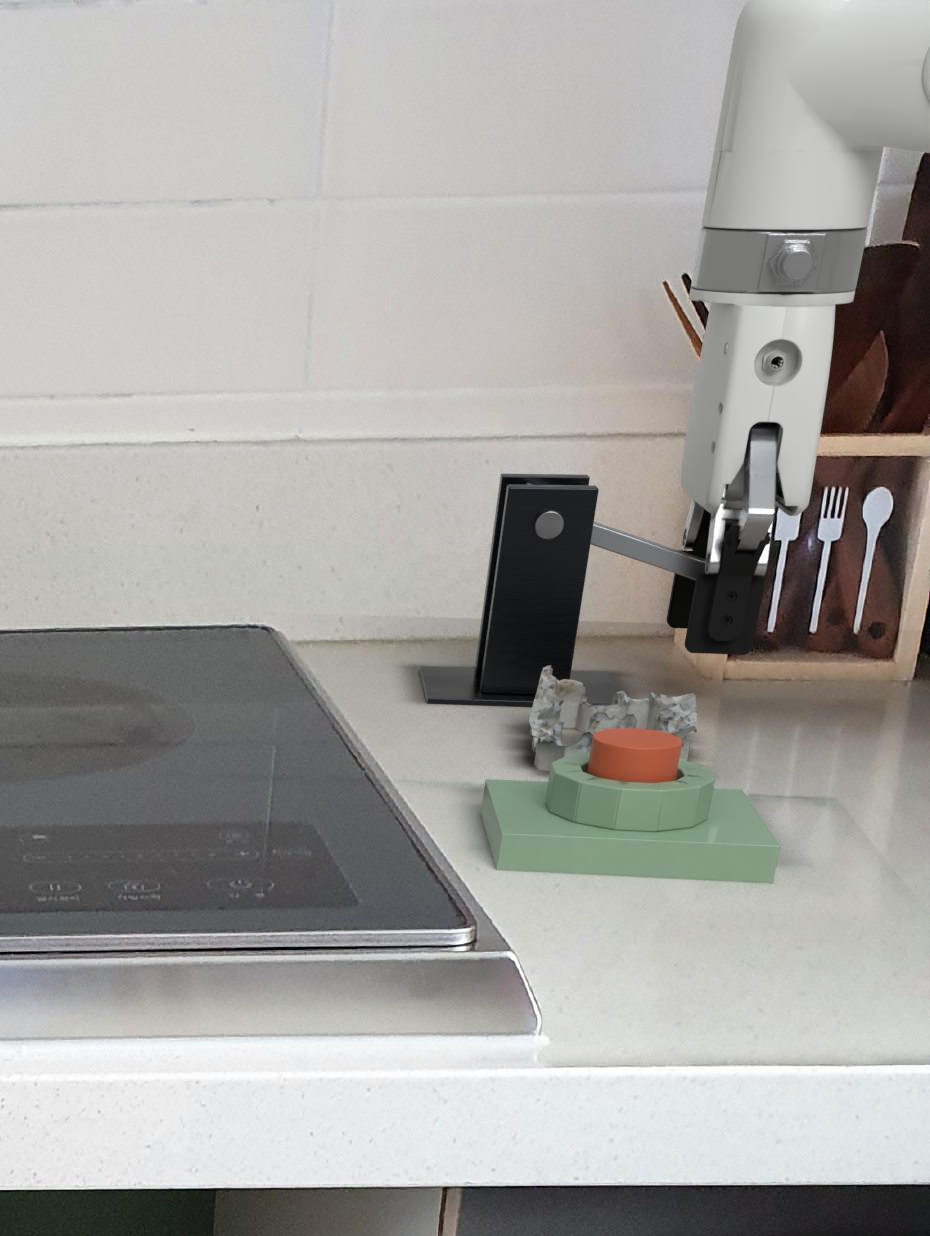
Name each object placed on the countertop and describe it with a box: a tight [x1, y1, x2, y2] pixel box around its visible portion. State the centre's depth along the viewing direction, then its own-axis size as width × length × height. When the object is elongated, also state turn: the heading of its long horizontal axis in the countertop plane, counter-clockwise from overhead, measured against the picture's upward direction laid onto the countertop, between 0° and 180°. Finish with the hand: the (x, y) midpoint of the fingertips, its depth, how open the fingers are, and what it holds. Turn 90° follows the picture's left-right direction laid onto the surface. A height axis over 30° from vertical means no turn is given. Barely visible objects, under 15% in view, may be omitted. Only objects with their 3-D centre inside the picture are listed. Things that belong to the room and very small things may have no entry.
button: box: [587, 728, 682, 783], centre depth 98 cm, size 4×4×2 cm
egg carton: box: [528, 665, 698, 772], centre depth 110 cm, size 11×8×4 cm
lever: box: [526, 483, 706, 580], centre depth 119 cm, size 12×6×2 cm, turn 76°
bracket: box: [419, 473, 620, 708], centre depth 121 cm, size 10×8×12 cm
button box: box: [480, 753, 781, 884], centre depth 99 cm, size 11×9×4 cm
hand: (707, 636), depth 120 cm, fingers closed on lever, 5 cm apart
